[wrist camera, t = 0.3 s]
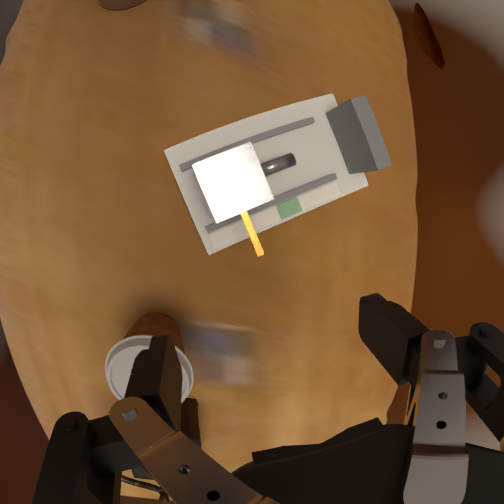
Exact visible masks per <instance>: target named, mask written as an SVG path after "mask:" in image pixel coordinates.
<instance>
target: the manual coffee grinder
mask: <svg viewBox="0 0 504 504" xmlns="http://www.w3.org/2000/svg"><path fill="white" fill-rule="evenodd" d="M180 431H181V432H182V433H183V434H185V435H186V436H187V437H188V438H189V439H190V440H191V441H192V442H193V443H195V444H196V445H197V446H198V447H199V448H200V449H201V439H200V430H199V421H198V403H197V401H196V399H185V400H184V401H183V402H182V403H181V423H180ZM132 472H133V475H134V478H141V479H150V480H154V479H153V478H152V476H151V475H150V474H149V473H148V472H147V470H146V469H145V468H144V467H143V466H140V467H136V468H133V469H132ZM121 481H123V482H125V483H128V484H131V485H134V486H138V487H141V488H145V489H149V490H153V491H156V492H159V494H160V498H159V500H160V501H161V502H163V503H167V502H168V501H169V496H168V494H167V493H166V492H165V491H164V490H163V489H162V488H161V487H158V486H156V485H153V484H150V483H146V482H142V481H138V480H135V479H131V478H128V477H126V476H123V475H122V476H121Z"/></svg>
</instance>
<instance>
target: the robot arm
mask: <svg viewBox="0 0 504 504" xmlns="http://www.w3.org/2000/svg"><path fill="white" fill-rule="evenodd" d="M98 1H99V3H100V5H101V6H103V7H104V8H107V9H110V10H121V9H127V8H130V7H133V6H135V5H138V4H140V3H141V2H143V1H145V0H98ZM359 334H360V337H361V339H362V341H363V342H364V343H365V345H366V346H367V347H368V348H369V350H370V351H371V352H372V353H373V355H374V356H375V357H376V358H377V359H378V361H379V362H380V363H381V364H382V366H383V367H384V368H385V369H386V371H387V372H388V373H389V374H390V376H391V377H392V378H393V379H394V381H395V382H396V383H397V384H398V386H400V385H403V384H405V383H407V382H410V384H411V386H410V390H409V397H408V403H407V410H406V415H405V421H404V425H403V424H385V425H382V423H381V422H380V420H379V418H378V417H377V418H375V419H372V420H369V421H367V422H364V423H361V424H358V425H355V426H352V427H350V428H348V429H346V430H344V431H343V432H341V433H339V434H337V435H336V436H334V437H332V438H330V439H329V440H327V441H325V442H323V443H320V444H311V445H293V446H281V447H277V448H272V449H267V450H262V451H257V452H252V457H253V461H252V462H250V463H247V464H245V465H243V466H241V467H240V468H238V469H236V470H235V471H233V472H232V473H230V472H228V471H227V470H226V469H225V468H223V467H222V466H221V465H220V464H218V463H217V462H216V461H215V460H213V459H212V458H211V457H210V456H209V455H207V454H206V453H205V452H204V451H203V450H202V449H200V448H199V447H198V446H197V445H196V444H195V443H193V442H192V441H191V440H190V439H189V438H188V437H187V436H186V435H185V434H183V433H182V432H181V431H180V423H181V399H182V381H183V375H182V368H181V364H180V361H179V358H178V355H177V352H176V349H175V346H174V343H173V340H172V337H171V335H170V334H167V335H159V336H152V338H151V342H150V346H149V349H144V350H141V351H140V353H139V354H138V355H137V356H136V357H135V360H134V363H133V368H132V370H131V375H130V377H129V381H128V385H127V388H126V392H125V396H124V398H123V399H121V400H119V401H117V402H116V403H115V404H114V405H113V406H112V407H111V409H110V412H109V415H107V416H104V417H101V418H97V419H93V420H88V418H87V417H86V416H85V415H84V414H83V413H81V412H69V413H66V414H64V415H63V416H61V417H60V418H59V419H58V420H57V422H56V423H55V426H54V429H53V432H52V435H51V438H50V441H49V444H48V447H47V450H46V454H45V457H44V460H43V464H42V467H41V471H40V475H39V478H38V482H37V487H36V490H35V494H34V498H33V503H32V504H120V490H121V476H122V471H125V470H129V469H133V468H136V467H140V466H143V467H144V468H145V469H146V470H147V472H148V473H149V474H150V475H151V476H152V478H153V479H154V480H155V481H156V482H157V483H158V484H159V486H160V487H161V488H162V489H163V490H164V491H165V492H166V493H167V494H168V496H169V497H170V498H171V499H172V500H173V501H174V502H175V503H176V504H504V333H503V332H501V331H500V330H499V329H498V328H496V327H495V326H493V325H492V324H489V323H484V322H479V323H476V324H474V325H472V326H471V328H470V331H469V335H468V336H463V337H458V338H454V337H453V335H452V334H451V333H449V332H447V331H445V330H440V329H433V330H429V329H428V328H427V327H426V326H425V325H423V324H422V323H421V322H420V321H419V320H417V319H416V318H415V317H414V316H412V315H411V314H410V313H409V312H407V310H405V309H404V308H403V307H402V306H401V305H399V304H397V303H394V302H392V301H387V300H386V299H385V298H383V297H382V296H381V295H380V294H379V293H374V294H371V295H367V296H363V297H361V298H360V303H359ZM489 366H490V367H491V368H492V369H493V370H494V371H495V372H496V373H497V374H498V375H499V376H500V379H501V386H500V388H499V387H498V386H497V385H496V384H495V383H494V382H493V381H492V380H491V379H490V378H489V377H488V376H487V375H486V372H487V370H488V367H489ZM465 400H466V401H467V402H468V403H469V405H470V406H471V407H472V408H473V409H474V411H475V412H476V413H477V414H478V416H479V417H480V418H481V419H482V420H483V422H484V423H485V424H486V426H487V427H488V428H489V429H490V431H491V432H492V433H493V434H494V436H495V437H496V438H497V440H498V441H499V442H500V449H501V451H498V450H494V449H489V448H485V447H481V446H477V445H473V444H469V443H466V442H465V436H466V435H465V434H466V404H465Z"/></svg>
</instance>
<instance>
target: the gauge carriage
mask: <svg viewBox="0 0 504 504" xmlns="http://www.w3.org/2000/svg"><path fill="white" fill-rule="evenodd" d="M295 165H296V159H295V157H294V155H293V154H292V153H291V152H290V153H287V154H285V155H282V156H279V157H277V158H274V159H271V160H268V161H266V162H263V163H261V164H260V162H259V160H258V158H257V155H256V153H255V150H254V148H253V146H252V143H251V142H248V143H246V144H243V145H240V146H237V147H235V148H232V149H230V150H227V151H224V152H222V153H219V154H217V155H214V156H212V157H209V158H207V159H204V160H202V161H200V162H197V163H195V164H192V170H191V173H192V176H193V178H194V181H195V183H196V185H197V188H198V190H199V192H200V195H201V197H202V200H203V202H204V204H205V207H206V209H207V211H208V214H209V216H210V218H211V220H213V221H214V222H215V223H216V224H217V223H219V222H222V221H224V220H226V219H228V218H231V217H233V216H235V215H238V214H240V216H241V219H242V221H243V223H244V226H245V228H246V231H247V233H248V235H249V238H250V240H251V243H252V245H253V247H254V250H255V252H256V255H257V256H258V257H259V256H261V255H263V254H264V252H263V249H262V247H261V244H260V242H259V240H258V237H257V235H256V232H255V230H254V227H253V225H252V223H251V220H250V218H249V215H248V213H247V210H249V209H252V208H254V207H256V206H259V205H261V204H263V203H266V202H268V201H271V200H273V199H274V197H273V194H272V192H271V189H270V187H269V184H268V182H267V180H266V177H267V176H269V175H272V174H274V173H277V172H279V171H282V170H285V169H287V168H290V167H292V166H295Z"/></svg>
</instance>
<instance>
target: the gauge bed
mask: <svg viewBox="0 0 504 504" xmlns="http://www.w3.org/2000/svg"><path fill="white" fill-rule="evenodd" d="M248 142H251V143H252V146H253V148H254V150H255V153H256V155H257V158H258V160H259V162H260V164H261V163H263V162H266V161H268V160H271V159H274V158H277V157H279V156H282V155H285V154H287V153H290V152H291V153H292V154H293V155H294V157H295V159H296V165H295V166H292V167H290V168H287V169H285V170H282V171H279V172H277V173H274V174H272V175H269V176H267V177H266V180H267V182H268V184H269V187H270V189H271V192H272V194H273V197H274V199H273V200H271V201H268V202H266V203H263V204H261V205H259V206H256V207H254V208H252V209H249V210H247V213H248V215H249V218H250V220H251V223H252V225H253V227H254V230H255V232H256V234H258V233H260V232H262V231H265V230H267V229H269V228H271V227H274V226H276V225H278V224H280V223H283V222H285V221H287V220H290V219H292V218H294V217H296V216H299V215H301V214H303V213H306V212H308V211H310V210H312V209H315V208H317V207H319V206H322V205H324V204H326V203H329V202H331V201H333V200H336V199H338V198H340V197H343V196H345V195H347V194H350V193H352V192H354V191H357V190H359V189H361V188H364V187H366V186H368V183H367V180H366V177H365V174H364V172H370V171H378V170H381V169H383V168H386V167H388V166H391V165H392V163H391V160H390V157H389V154H388V151H387V148H386V146H385V143H384V140H383V137H382V135H381V132H380V129H379V127H378V124H377V122H376V119H375V117H374V114H373V112H372V109H371V107H370V104H369V102H368V100H367V97H366V95H365V96H360V97H356V98H352V99H349V100H347V101H346V102H344V103H342V104H340V105H339V106H338V104H337V102H336V100H335V97H334V95H333V93H332V94H328V95H324V96H320V97H316V98H312V99H308V100H304V101H301V102H297V103H294V104H290V105H287V106H283V107H280V108H276V109H273V110H270V111H267V112H263V113H260V114H257V115H254V116H251V117H248V118H245V119H242V120H239V121H236V122H234V123H231V124H228V125H225V126H223V127H220V128H217V129H214V130H212V131H209V132H207V133H204V134H201V135H199V136H196V137H194V138H191V139H189V140H187V141H184V142H182V143H179V144H177V145H175V146H172V147H170V148H168V149H165V150H164V152H165V155H166V157H167V159H168V162H169V164H170V167H171V169H172V172H173V174H174V176H175V179H176V181H177V184H178V186H179V188H180V191H181V193H182V196H183V198H184V200H185V203H186V205H187V207H188V210H189V212H190V214H191V217H192V219H193V221H194V223H195V226H196V228H197V230H198V233H199V235H200V237H201V239H202V242H203V244H204V246H205V248H206V251H207V253H208V255H211V254H213V253H215V252H217V251H220V250H222V249H224V248H226V247H229V246H231V245H233V244H235V243H238V242H240V241H242V240H244V239H247V238H249V235H248V233H247V231H246V228H245V226H244V223H243V221H242V219H241V216H240V214H238V215H235V216H233V217H231V218H228V219H226V220H224V221H222V222H219V223H217V224H216V223H215V222H214V221H213V220H211V218H210V216H209V214H208V211H207V209H206V207H205V204H204V202H203V200H202V197H201V195H200V192H199V190H198V188H197V185H196V183H195V181H194V178H193V176H192V173H191V170H192V164H195V163H197V162H200V161H202V160H204V159H207V158H209V157H212V156H214V155H217V154H219V153H222V152H224V151H227V150H230V149H232V148H235V147H237V146H240V145H243V144H246V143H248Z"/></svg>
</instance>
